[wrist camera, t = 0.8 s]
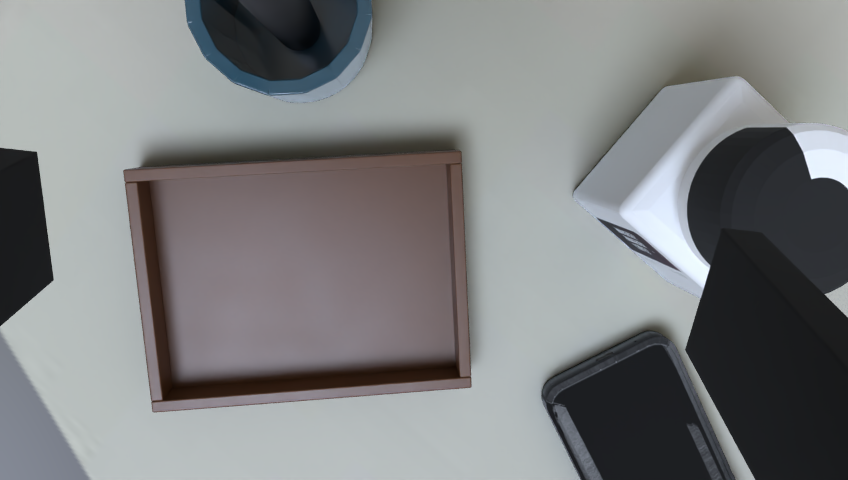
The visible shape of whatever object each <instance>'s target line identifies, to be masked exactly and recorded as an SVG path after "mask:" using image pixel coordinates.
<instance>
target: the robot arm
mask: <svg viewBox="0 0 848 480" xmlns="http://www.w3.org/2000/svg"><path fill="white" fill-rule="evenodd" d="M53 280H54V279H53V272H52V264H51V256H50V249H49V241H48V233H47V226H46V218H45V210H44V203H43V195H42V187H41V180H40V172H39V164H38V157H37V152H32V151H23V150H14V149H5V148H0V326H1V325H2V324H3V323H4V322H6V321H7V320H8V319H9V318H10V317H11V316H13V315H14V314H15V313H16V312H17V311H18V310H19V309H21V308H22V307H23V306H24V305H25V304H26V303H28V302H29V301H30V300H31V299H32V298H33V297H35V296H36V295H37V294H38V293H39V292H40V291H41V290H43V289H44V288H45V287H46V286H47V285H48V284H50V283H51V282H52V281H53ZM685 350H686V352H687V354H688V356H689V358H690V360H691V362H692V363H693V365H694V367H695V369H696V371H697V373H698V374H699V376H700V378H701V380H702V382H703V384H704V386H705V387H706V389H707V391H708V393H709V395H710V397H711V399H712V400H713V402H714V404H715V406H716V408H717V410H718V411H719V413H720V415H721V417H722V419H723V421H724V423H725V424H726V426H727V428H728V430H729V432H730V434H731V435H732V437H733V439H734V441H735V443H736V445H737V447H738V448H739V450H740V452H741V454H742V456H743V458H744V459H745V461H746V463H747V465H748V467H749V469H750V471H751V472H752V474H753V476H754V478H755V480H848V317H847V316H846V315H845V314H844V313H843V312H841V311H840V310H839V309H838V308H837V307H836V306H835V305H834V304H833V303H832V302H831V301H830V300H829V299H828V298H827V297H826V296H825V295H824V294H823V293H822V292H821V291H820V290H819V289H818V288H817V287H816V286H815V285H814V284H813V283H812V282H811V281H810V280H809V279H808V278H807V277H806V276H805V275H804V274H803V273H802V272H801V271H800V270H799V269H798V268H797V267H796V266H795V265H794V264H793V263H792V262H791V261H790V260H789V259H788V258H787V257H786V256H785V255H784V254H783V253H782V252H781V251H780V250H779V249H778V248H777V247H776V246H775V245H774V244H773V243H772V242H771V241H770V240H769V239H768V238H767V237H766V236H765V235H764V234H763V233H762V232H755V231H746V230H737V229H728V228H722V229H721V232H720V236H719V239H718V242H717V246H716V249H715V252H714V256H713V259H712V262H711V266H710V269H709V272H708V276H707V279H706V282H705V286H704V289H703V292H702V296H701V299H700V302H699V306H698V309H697V312H696V316H695V319H694V322H693V326H692V329H691V332H690V336H689V339H688V342H687V346H686V349H685Z"/></svg>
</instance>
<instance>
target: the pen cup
mask: <svg viewBox="0 0 848 480" xmlns="http://www.w3.org/2000/svg"><path fill="white" fill-rule="evenodd" d="M310 2H311V4H312V6H313V8H314V10H315V12H316V14H317V17H318V19H319V22H320V34H319V37H318V39H317V41H316V42H315V43H314V44H313V45H312V46H311V47H309V48H307V49H304V50H293V49H290V48H288V47H286V46H285V45H283V44H282V43H281V42H280V41H279V40H278V39H277V38H276V37H275V36H274V35H273V34H272V33H271V32H270V31H269V30H268V29H267V28H266V27H265V26H264V25H263V24H262V23H261V22H260V21H259V20H258V19H257V18H256V17H255V16H254V15H253V14H252V13H251V12H250V11H249V10H248V9H246V8H245V7H244V6H243V5H242V4H241V3H240V2H239V1H238V0H185V8H186V18H187V23H188V27H189V29H190V31H191V33H192V34H193V36H194V38H195V40H196V42H197V44H198V46H199V48H200V50H201V52H202V54H203V56H204V57H205V58H206V60H208V61H209V62H210V63H211V64H212V65H213V66H214V67H216V68H217V69H218V70H219V71H220V72H221V73H222V74H224V75H225V76H226V77H227V78H228V79H229V80H230V81H232V82H233V83H235V84H237V85H240V86H242V87H245V88H248V89H251V90H254V91H257V92H259V93H262V94H265V95H268V96H271V97H274V98H277V99H280V100H283V101H286V102H290V103H294V102H298V103H306V102H314V101H320V100H322V99H325V98H328V97H330V96H332V95H334V94H336V93H338V92H339V91H341V90H342V89H343V88H345V87H346V86H347V85H348V84H349V83H350V82H351V81H352V80H353V79H354V78H355V77H356V75H357V74H358V73H359V71H360V70H361V68H362V67H363V65H364V62H365V60H366V57H367V55H368V51H369V47H370V44H371V41H372V0H310Z"/></svg>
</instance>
